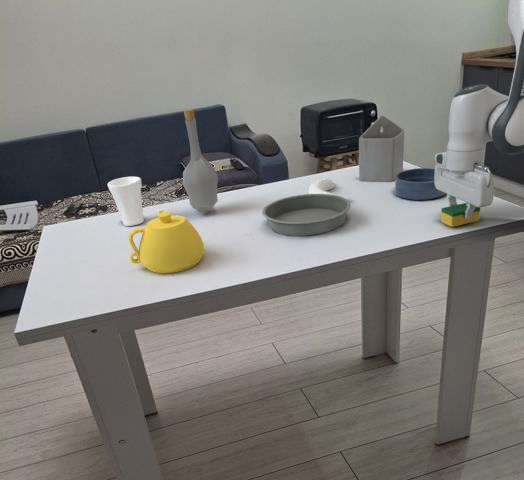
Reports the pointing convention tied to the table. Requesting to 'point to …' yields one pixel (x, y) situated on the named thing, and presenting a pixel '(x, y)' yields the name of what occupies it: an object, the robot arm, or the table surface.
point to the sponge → (458, 215)
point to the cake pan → (306, 214)
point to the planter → (381, 151)
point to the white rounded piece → (321, 187)
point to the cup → (128, 199)
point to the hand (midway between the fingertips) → (460, 214)
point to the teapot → (167, 244)
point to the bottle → (199, 172)
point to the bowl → (417, 184)
